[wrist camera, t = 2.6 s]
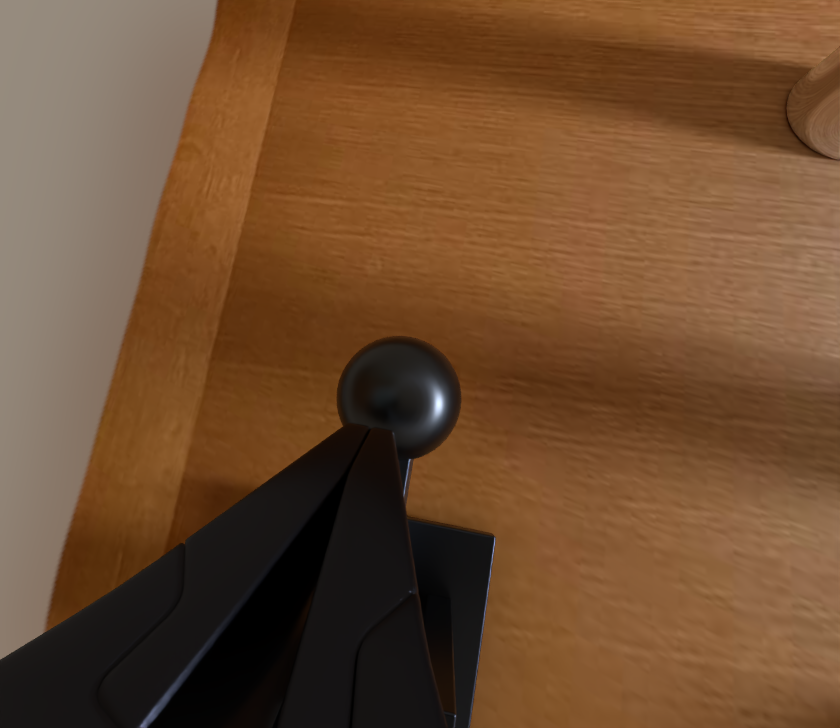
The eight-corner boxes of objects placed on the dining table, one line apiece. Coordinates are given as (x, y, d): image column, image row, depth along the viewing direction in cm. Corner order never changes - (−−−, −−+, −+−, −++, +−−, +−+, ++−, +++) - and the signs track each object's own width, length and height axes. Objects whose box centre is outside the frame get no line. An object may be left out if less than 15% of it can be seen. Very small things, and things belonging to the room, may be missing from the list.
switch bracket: (325, 499, 21) (212, 520, 11) (493, 533, 21) (542, 590, 10) (271, 740, 19) (62, 1057, 9) (458, 789, 18) (474, 1200, 8)
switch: (363, 330, 13) (331, 322, 10) (469, 348, 12) (472, 345, 9) (297, 742, 13) (246, 858, 10) (399, 768, 13) (379, 896, 10)
